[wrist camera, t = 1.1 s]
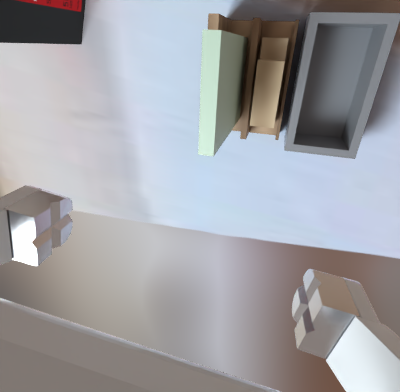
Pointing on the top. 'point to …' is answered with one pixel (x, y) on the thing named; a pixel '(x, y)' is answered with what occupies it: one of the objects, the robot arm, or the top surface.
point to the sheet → (220, 87)
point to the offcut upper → (266, 92)
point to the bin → (338, 80)
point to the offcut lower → (274, 49)
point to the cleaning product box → (41, 21)
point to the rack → (255, 34)
